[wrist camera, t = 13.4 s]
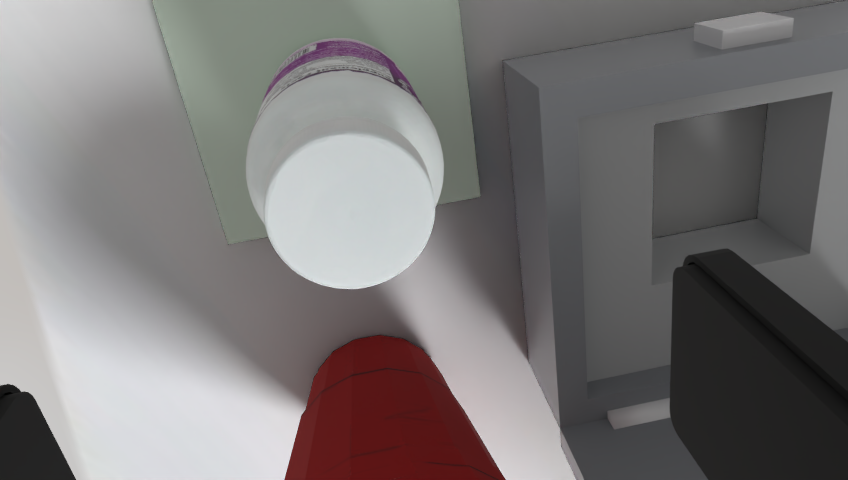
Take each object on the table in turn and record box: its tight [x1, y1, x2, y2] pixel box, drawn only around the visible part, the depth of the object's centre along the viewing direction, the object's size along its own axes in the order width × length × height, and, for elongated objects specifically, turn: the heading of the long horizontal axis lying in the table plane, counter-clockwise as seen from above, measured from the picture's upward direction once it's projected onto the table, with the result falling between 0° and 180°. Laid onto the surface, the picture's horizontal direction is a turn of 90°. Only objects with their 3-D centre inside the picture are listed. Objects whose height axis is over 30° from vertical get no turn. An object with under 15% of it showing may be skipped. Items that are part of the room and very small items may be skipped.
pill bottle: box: [246, 38, 444, 289], centre depth 19 cm, size 5×5×10 cm
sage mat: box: [152, 0, 481, 245], centre depth 24 cm, size 10×9×1 cm
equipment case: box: [503, 0, 848, 480], centre depth 20 cm, size 15×16×18 cm
